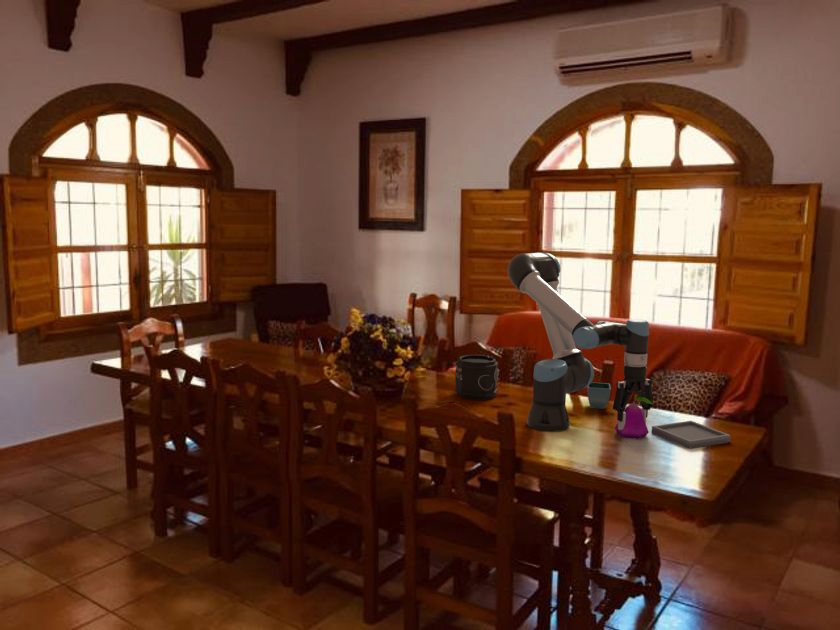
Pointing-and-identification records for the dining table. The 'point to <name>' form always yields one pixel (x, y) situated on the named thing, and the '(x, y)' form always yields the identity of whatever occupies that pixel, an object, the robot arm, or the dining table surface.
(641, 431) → the pear
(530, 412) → the robot arm
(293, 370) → the dining table surface
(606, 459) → the dining table surface
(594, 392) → the flower pot
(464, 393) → the dark grey canister
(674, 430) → the grey square tray
